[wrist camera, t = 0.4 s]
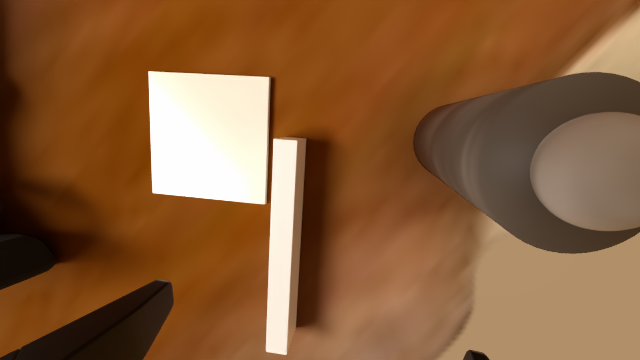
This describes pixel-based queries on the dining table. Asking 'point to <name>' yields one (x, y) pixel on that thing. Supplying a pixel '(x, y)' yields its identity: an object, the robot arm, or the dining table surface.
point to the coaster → (210, 135)
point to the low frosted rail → (285, 241)
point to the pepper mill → (545, 159)
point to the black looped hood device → (22, 258)
